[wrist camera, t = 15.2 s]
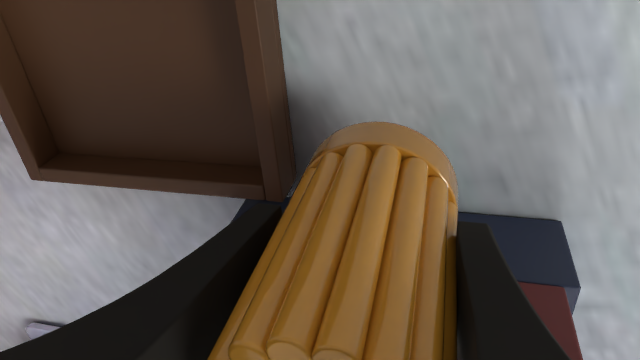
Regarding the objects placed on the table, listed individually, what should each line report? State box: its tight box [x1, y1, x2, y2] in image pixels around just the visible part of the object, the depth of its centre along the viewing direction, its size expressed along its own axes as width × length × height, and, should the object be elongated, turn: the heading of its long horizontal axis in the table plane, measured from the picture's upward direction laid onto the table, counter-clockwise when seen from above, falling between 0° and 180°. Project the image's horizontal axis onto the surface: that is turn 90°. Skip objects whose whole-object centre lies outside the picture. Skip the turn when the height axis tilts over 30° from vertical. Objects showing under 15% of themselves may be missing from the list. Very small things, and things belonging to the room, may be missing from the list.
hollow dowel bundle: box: [207, 122, 458, 360], centre depth 10 cm, size 7×4×4 cm
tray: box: [0, 0, 297, 202], centre depth 14 cm, size 10×10×2 cm
